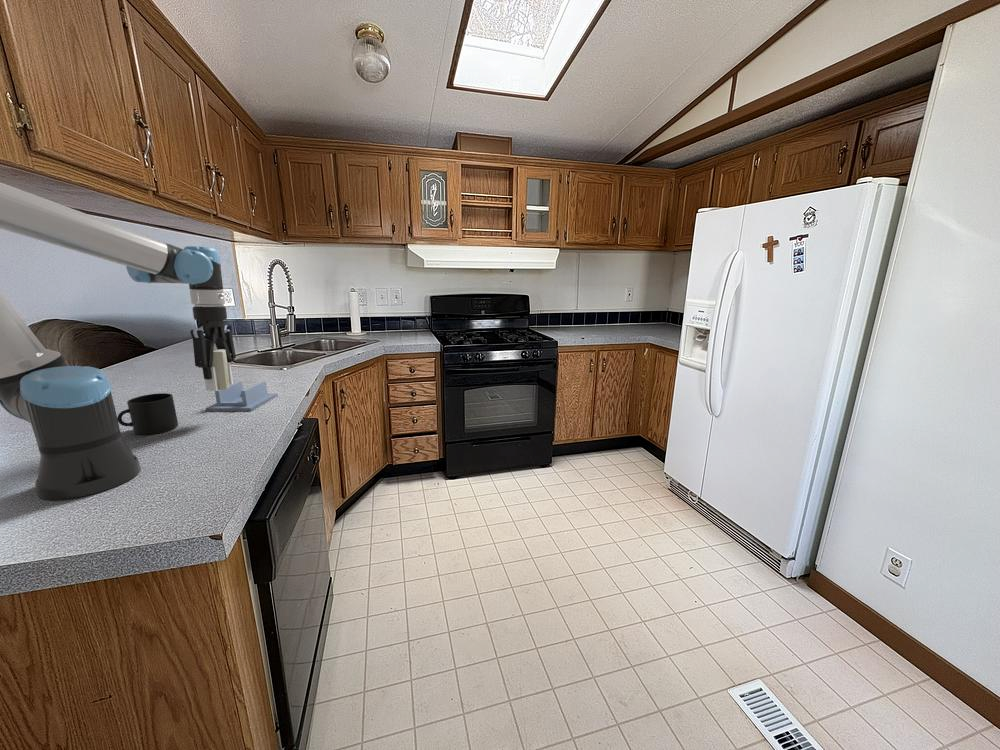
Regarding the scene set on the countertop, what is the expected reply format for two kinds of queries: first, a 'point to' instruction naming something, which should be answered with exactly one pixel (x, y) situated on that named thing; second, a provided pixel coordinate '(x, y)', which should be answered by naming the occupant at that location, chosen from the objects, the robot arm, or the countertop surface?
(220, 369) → the box
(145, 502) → the countertop surface
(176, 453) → the countertop surface
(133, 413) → the mug
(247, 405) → the slot bracket
